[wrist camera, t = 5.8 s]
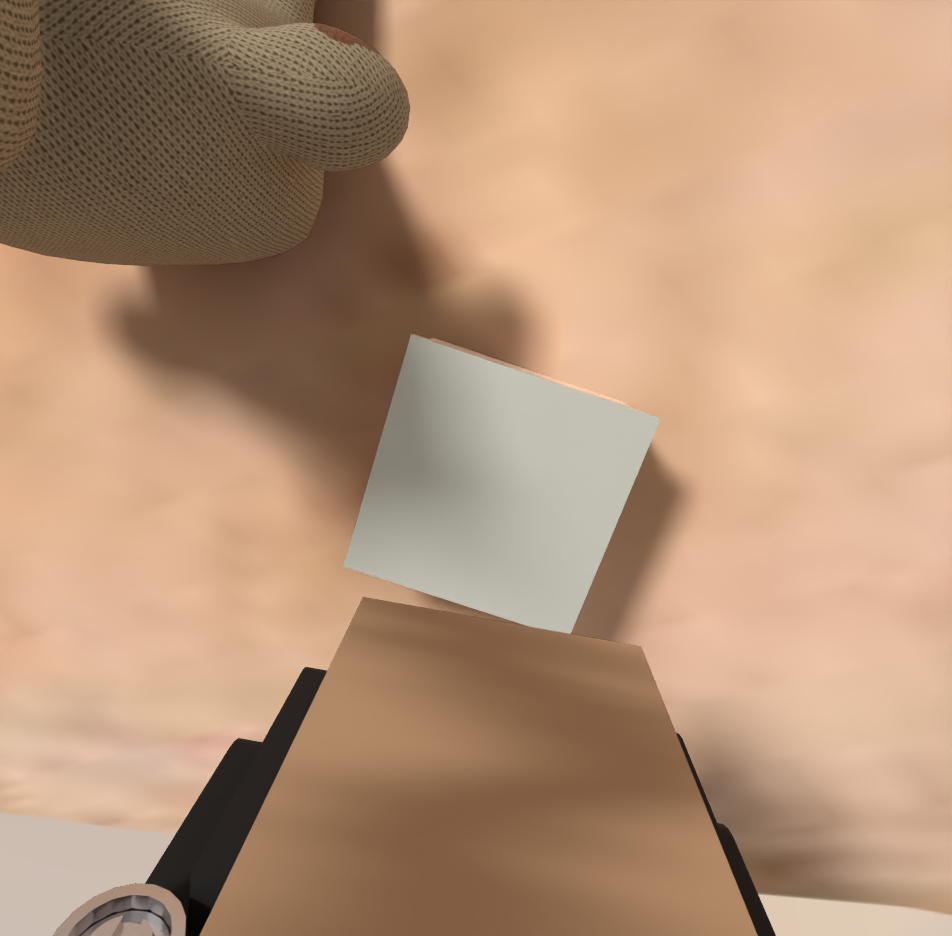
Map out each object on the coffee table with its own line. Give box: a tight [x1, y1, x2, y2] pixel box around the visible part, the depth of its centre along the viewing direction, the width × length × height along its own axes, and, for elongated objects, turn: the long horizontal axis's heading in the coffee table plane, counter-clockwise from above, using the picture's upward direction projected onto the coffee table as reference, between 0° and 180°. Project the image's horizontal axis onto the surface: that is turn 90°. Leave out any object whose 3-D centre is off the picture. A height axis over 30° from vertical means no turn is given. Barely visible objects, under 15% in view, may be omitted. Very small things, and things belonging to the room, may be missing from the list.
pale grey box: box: [343, 334, 660, 634], centre depth 28 cm, size 11×11×6 cm
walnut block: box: [200, 597, 758, 936], centre depth 8 cm, size 5×5×7 cm
